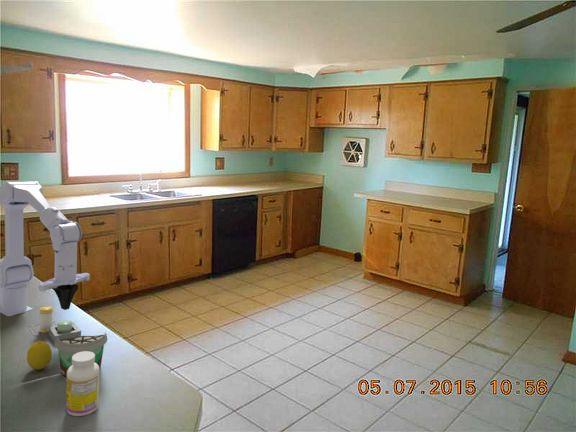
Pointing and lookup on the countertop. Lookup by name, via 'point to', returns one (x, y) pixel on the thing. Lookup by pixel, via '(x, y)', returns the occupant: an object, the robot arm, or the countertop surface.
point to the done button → (64, 326)
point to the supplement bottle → (82, 384)
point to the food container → (79, 349)
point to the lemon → (39, 355)
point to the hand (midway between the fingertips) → (65, 308)
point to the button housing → (66, 335)
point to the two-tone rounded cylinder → (46, 318)
